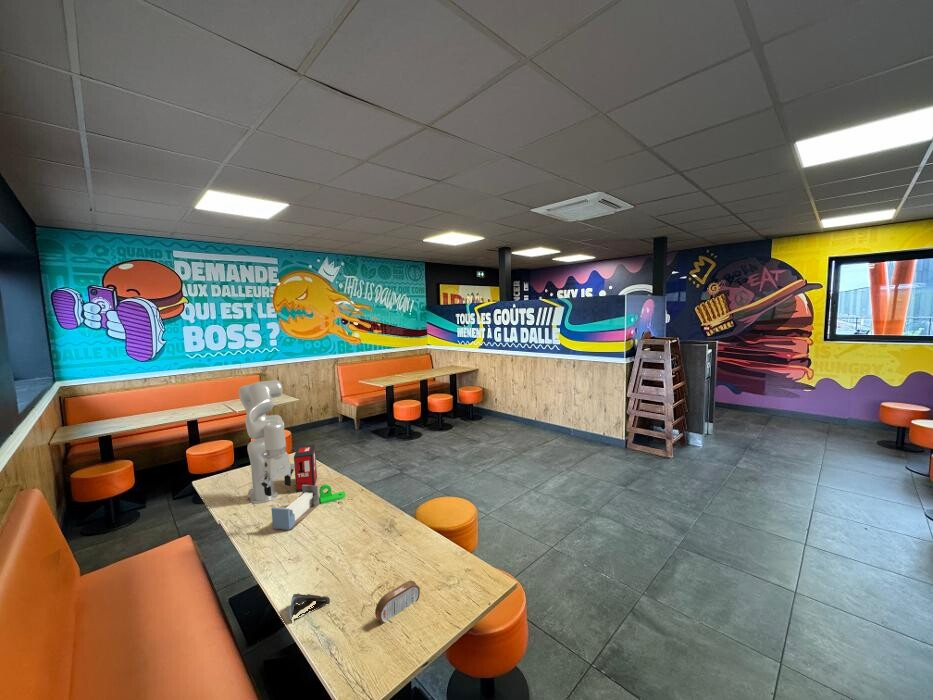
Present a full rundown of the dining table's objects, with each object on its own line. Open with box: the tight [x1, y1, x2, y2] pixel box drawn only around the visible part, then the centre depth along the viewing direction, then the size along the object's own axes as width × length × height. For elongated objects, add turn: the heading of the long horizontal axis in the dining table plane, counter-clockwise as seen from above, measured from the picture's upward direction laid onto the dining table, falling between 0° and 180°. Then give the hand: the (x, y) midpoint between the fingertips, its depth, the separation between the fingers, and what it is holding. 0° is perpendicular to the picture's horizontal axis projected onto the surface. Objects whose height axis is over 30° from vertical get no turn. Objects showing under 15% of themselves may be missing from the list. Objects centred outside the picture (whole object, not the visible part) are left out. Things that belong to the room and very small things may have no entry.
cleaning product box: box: [293, 443, 318, 493], centre depth 205 cm, size 16×9×20 cm, turn 17°
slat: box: [285, 492, 313, 520], centre depth 175 cm, size 4×16×6 cm, turn 170°
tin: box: [374, 580, 421, 624], centre depth 116 cm, size 15×3×8 cm, turn 133°
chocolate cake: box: [288, 592, 331, 619], centre depth 118 cm, size 10×7×12 cm
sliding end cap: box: [271, 507, 295, 531], centre depth 164 cm, size 8×4×9 cm, turn 80°
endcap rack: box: [272, 484, 322, 531], centre depth 173 cm, size 9×23×10 cm, turn 170°
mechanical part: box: [318, 483, 346, 505], centre depth 189 cm, size 12×6×8 cm, turn 118°
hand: (278, 490), depth 160 cm, fingers open, 9 cm apart
